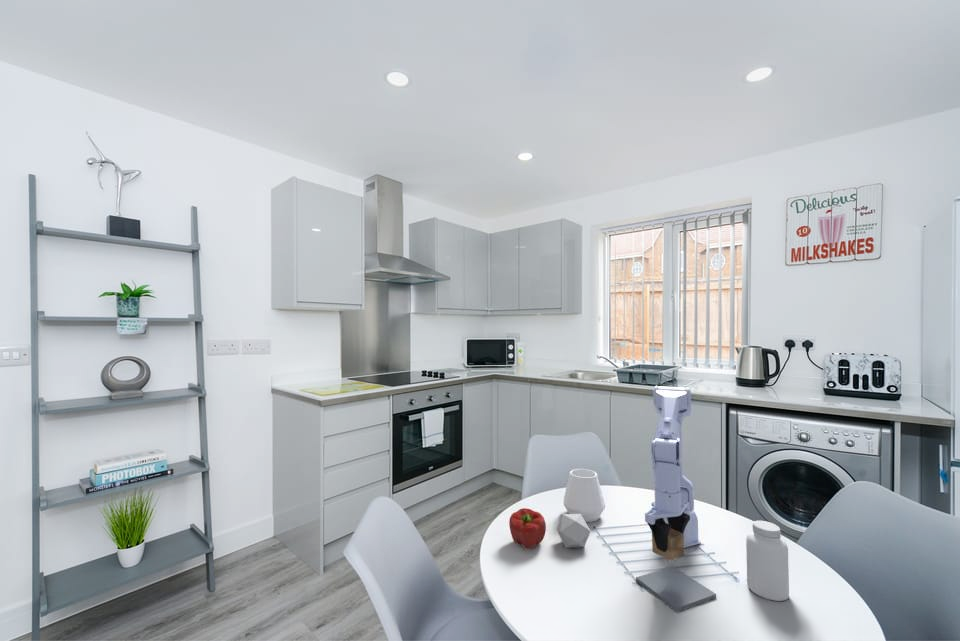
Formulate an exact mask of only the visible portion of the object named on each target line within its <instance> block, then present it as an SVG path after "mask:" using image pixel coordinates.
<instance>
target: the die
mask: <svg viewBox="0 0 960 641" xmlns="http://www.w3.org/2000/svg"><path fill="white" fill-rule="evenodd" d="M556 531H557V534H558V535H559V538H560V540H561V541H562V543H563V545H564V547H565V548H566V549H569V548H573V549H574V548H585V546H586V544H587V541H588V539H589V536H590V534H591V530H590V528H589V526H588V524H587V522H585V520H584V519H583V517H582V515H581V514H569V513H562V515H561V518H560V520H559V523H558V525H557V528H556Z"/></svg>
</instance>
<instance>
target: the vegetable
mask: <svg viewBox="0 0 960 641" xmlns="http://www.w3.org/2000/svg"><path fill="white" fill-rule="evenodd" d="M508 523H509V524H508V525H509V530H510V535H511V538H512V540H513V542H514V543H515V544H517V545H518V546H519V545H520V546H523V547H524V548H525V549H532V548H535V546H537V545H538V546H539V545H540V544H541V543H542V542H543V540H544V539H545V534H546V531H547V530H546V529H547V523H546V520H545V518H544V516H543V515H542V514H541V513H540V512H538V511H535V510H533V509H530V508H524V507H522V508H520V509H518V510H516V511H515V512H513V513H512V514H511V515H510V517H509V520H508Z"/></svg>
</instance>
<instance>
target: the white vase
mask: <svg viewBox="0 0 960 641" xmlns="http://www.w3.org/2000/svg"><path fill="white" fill-rule="evenodd" d="M563 506H564V508H565V509H566V511H567V512H568V513H567V514H581V515H582V517H583V519H584V520H585V522H586V523H593V522H595V521H596V522H597V520H599V518H600V517H601V515H602V514H603V513H604V510H605V509H606V502H605V499H604V496H603V492H602V489H601V484H600V481H599V476H598V472H596V471H593V470H592V469H587V468H574V469H572V470H570V471H569V474H568V479H567V484H566V487H565V493H564V495H563Z"/></svg>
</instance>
